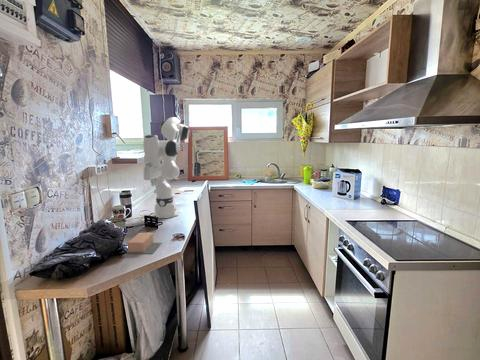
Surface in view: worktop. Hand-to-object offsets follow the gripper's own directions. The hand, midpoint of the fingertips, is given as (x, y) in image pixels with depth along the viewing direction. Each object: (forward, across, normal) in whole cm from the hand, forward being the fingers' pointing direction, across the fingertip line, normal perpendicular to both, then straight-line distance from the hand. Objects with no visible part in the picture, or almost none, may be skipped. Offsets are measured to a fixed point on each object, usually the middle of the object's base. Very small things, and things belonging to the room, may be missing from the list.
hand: (153, 185), depth 155 cm
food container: (+29, -6, +23) cm, 38 cm away
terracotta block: (+26, -15, 0) cm, 30 cm away
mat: (+29, -24, 0) cm, 38 cm away
